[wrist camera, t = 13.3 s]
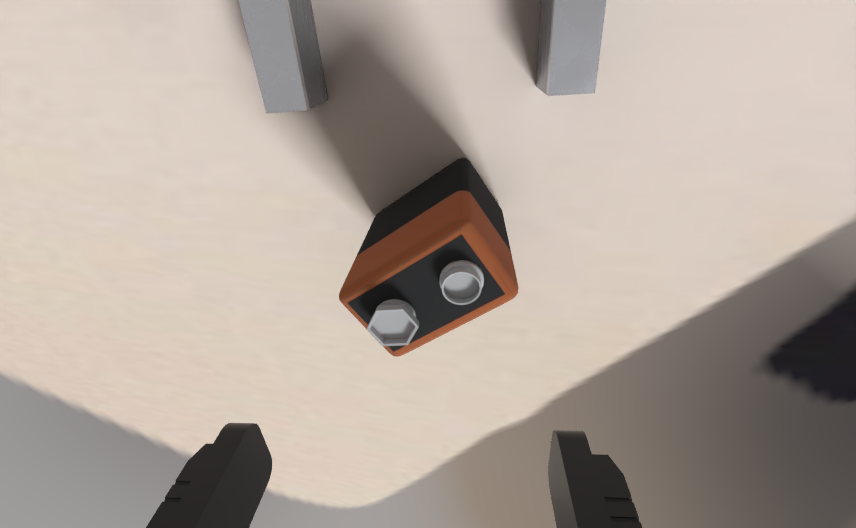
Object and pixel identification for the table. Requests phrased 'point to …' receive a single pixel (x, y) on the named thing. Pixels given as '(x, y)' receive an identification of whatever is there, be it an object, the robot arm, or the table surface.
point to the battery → (431, 262)
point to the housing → (302, 69)
